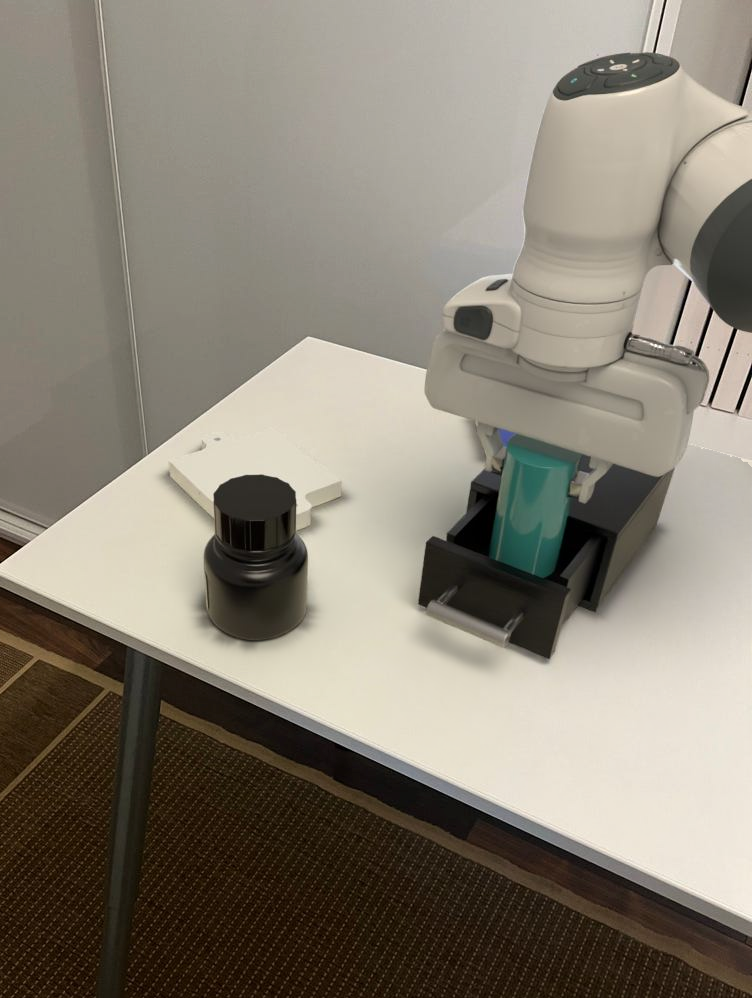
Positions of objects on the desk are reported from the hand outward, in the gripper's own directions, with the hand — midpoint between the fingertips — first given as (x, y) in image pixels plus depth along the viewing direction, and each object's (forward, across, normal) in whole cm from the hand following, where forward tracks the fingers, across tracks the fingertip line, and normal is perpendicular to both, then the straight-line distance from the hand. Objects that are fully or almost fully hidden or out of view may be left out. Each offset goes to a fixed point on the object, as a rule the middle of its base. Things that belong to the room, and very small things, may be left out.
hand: (536, 483), depth 79 cm
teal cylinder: (+8, 0, 0) cm, 8 cm away
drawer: (+12, 0, +1) cm, 12 cm away
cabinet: (+13, 0, -11) cm, 17 cm away
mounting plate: (+13, +30, -2) cm, 33 cm away
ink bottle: (+13, +18, +14) cm, 26 cm away
